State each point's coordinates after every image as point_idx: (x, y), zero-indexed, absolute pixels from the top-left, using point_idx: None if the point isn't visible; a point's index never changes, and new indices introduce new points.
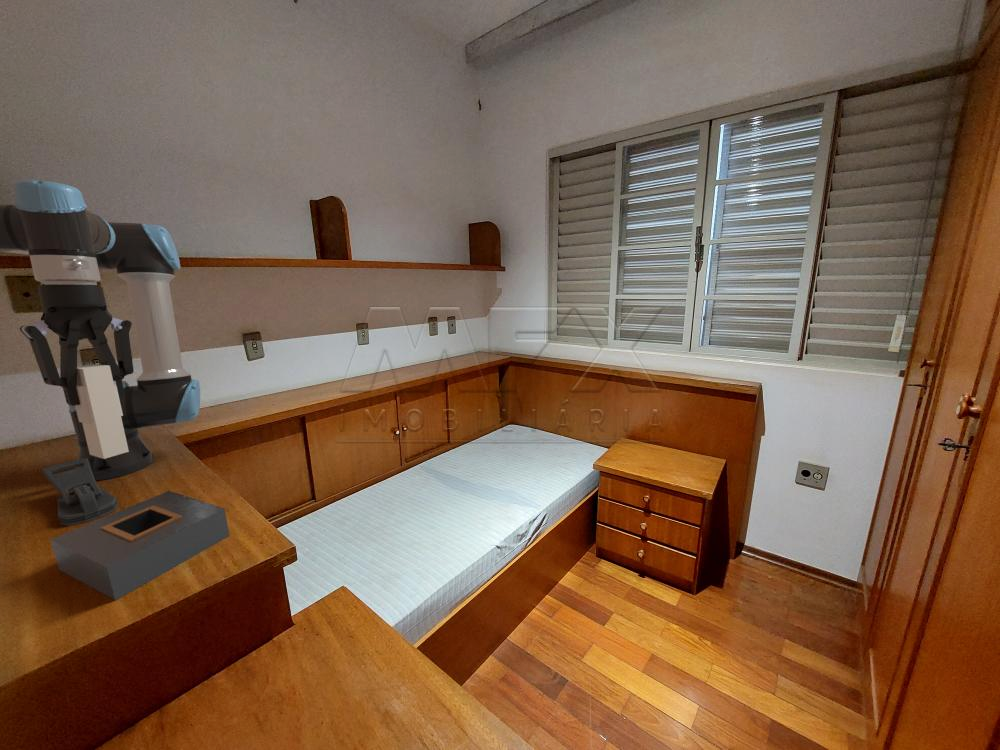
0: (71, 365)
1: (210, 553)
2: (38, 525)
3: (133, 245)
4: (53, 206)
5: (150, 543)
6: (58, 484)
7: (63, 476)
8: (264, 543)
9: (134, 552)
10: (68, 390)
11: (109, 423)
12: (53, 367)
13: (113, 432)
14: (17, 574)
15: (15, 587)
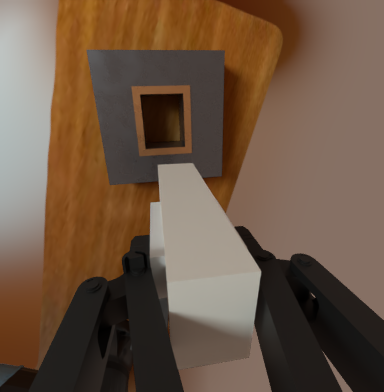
0: (286, 308)
1: (128, 42)
2: None
3: None
4: None
5: (181, 56)
6: (166, 309)
7: None
8: None
9: (198, 53)
10: (261, 249)
11: (182, 183)
12: (338, 301)
13: (176, 177)
14: (228, 191)
15: (236, 170)
